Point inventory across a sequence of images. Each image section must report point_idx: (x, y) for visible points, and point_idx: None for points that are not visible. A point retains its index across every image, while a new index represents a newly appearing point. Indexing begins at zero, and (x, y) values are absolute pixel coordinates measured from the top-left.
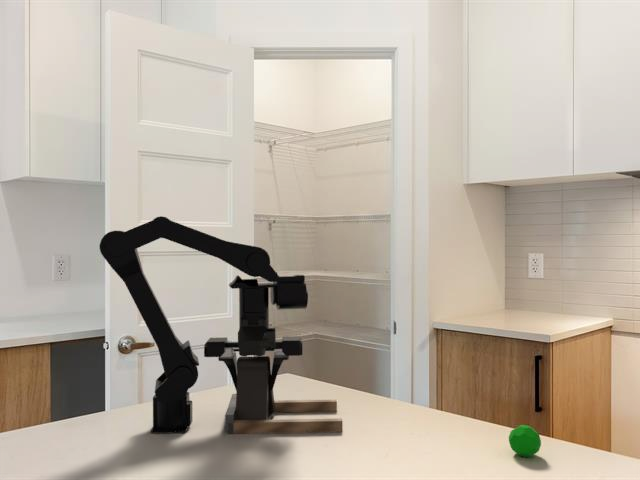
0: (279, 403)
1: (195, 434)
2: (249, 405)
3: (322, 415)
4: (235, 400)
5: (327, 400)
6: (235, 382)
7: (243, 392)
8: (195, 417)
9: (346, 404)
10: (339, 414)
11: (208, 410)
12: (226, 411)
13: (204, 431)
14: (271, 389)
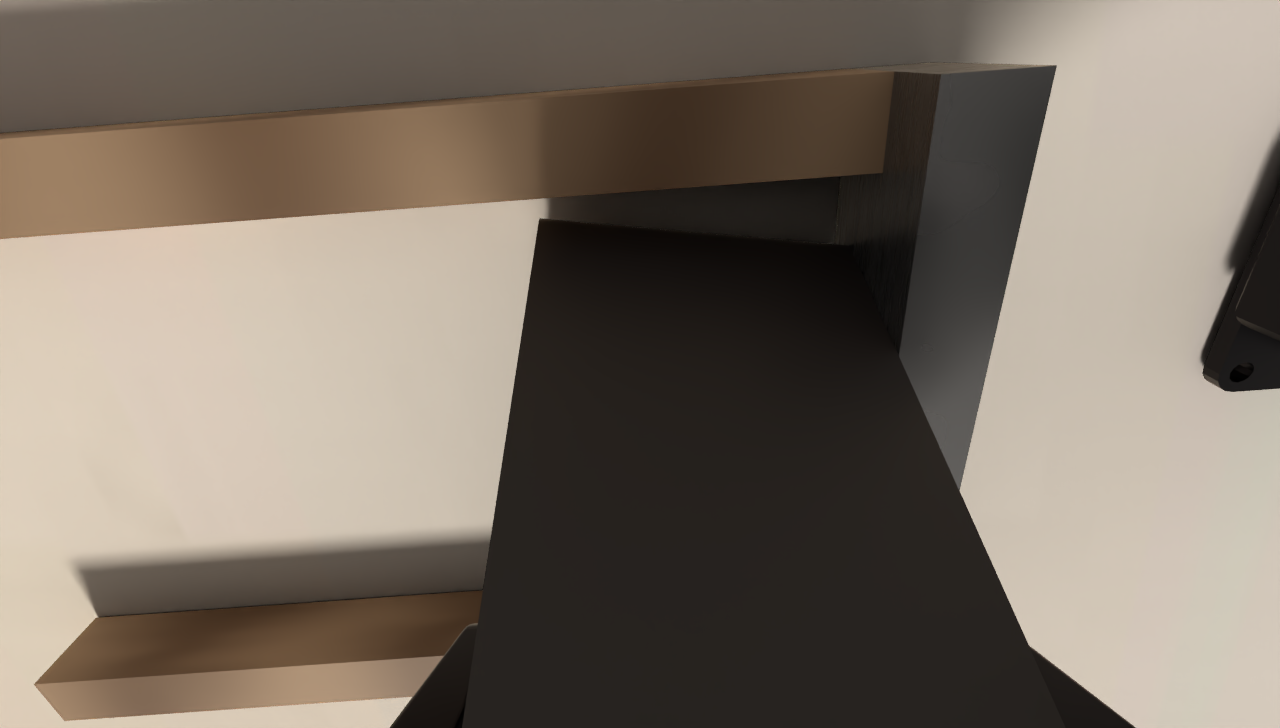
0: None
1: (1223, 52)
2: (741, 363)
3: (169, 542)
4: None
5: (124, 701)
6: (1050, 688)
7: (867, 507)
8: (1137, 478)
9: (93, 725)
10: (46, 564)
11: (1022, 604)
12: (1019, 223)
13: (1121, 146)
14: (474, 631)
